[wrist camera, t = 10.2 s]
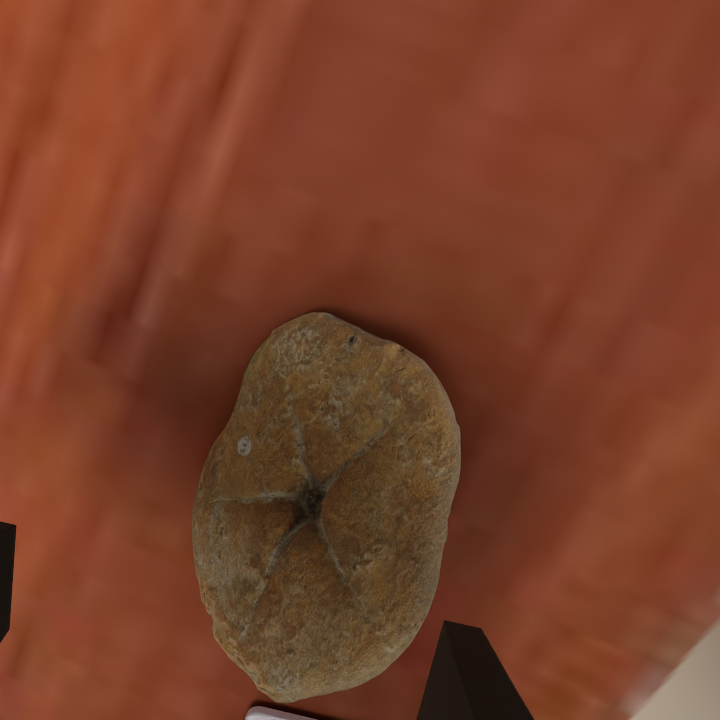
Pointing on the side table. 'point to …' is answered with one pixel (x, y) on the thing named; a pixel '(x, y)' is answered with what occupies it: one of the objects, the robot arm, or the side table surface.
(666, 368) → the side table surface
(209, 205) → the side table surface
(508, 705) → the robot arm
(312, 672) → the fossil
